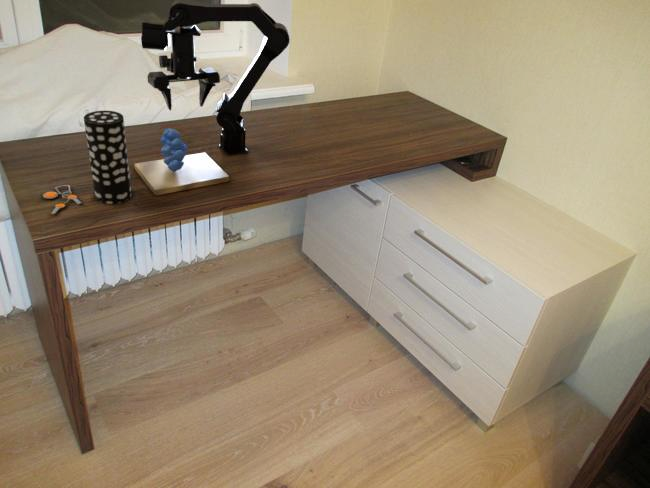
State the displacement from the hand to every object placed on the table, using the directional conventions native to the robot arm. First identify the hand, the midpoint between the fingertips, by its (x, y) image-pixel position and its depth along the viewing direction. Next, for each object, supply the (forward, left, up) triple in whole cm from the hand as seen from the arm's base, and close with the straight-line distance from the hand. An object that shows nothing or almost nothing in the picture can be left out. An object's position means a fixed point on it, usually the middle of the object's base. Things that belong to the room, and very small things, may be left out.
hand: (185, 107), depth 153 cm
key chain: (+38, +18, -12) cm, 44 cm away
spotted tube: (+27, +20, -12) cm, 36 cm away
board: (+8, +16, -12) cm, 22 cm away
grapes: (+9, +16, -11) cm, 21 cm away
